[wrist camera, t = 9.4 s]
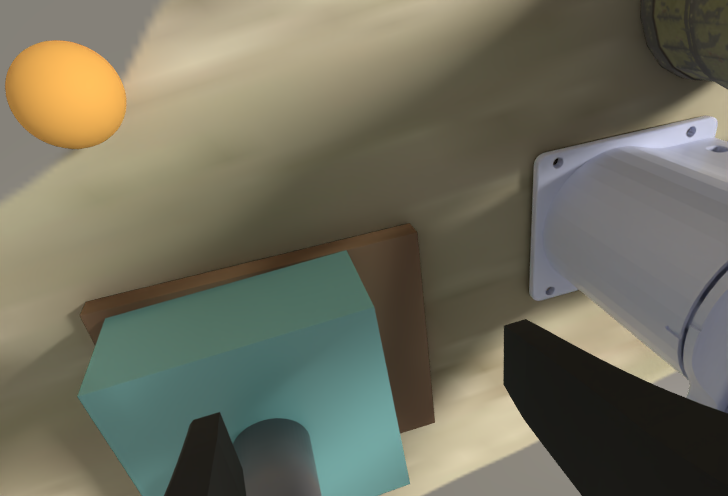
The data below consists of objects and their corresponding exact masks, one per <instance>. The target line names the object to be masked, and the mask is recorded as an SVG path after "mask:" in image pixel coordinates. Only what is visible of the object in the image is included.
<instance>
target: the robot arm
mask: <svg viewBox="0 0 728 496" xmlns="http://www.w3.org/2000/svg"><path fill="white" fill-rule="evenodd" d="M688 129H689V131H688V132H687V130H688ZM716 129H717V119H716V118H714V117H711V116H702V117H697V118H693V119H689V120H684V121H680V122H676V123H671V124H667V125H663V126H658V127H654V128H650V129H645V130H641V131H636V132H632V133H628V134H623V135H619V136H615V137H610V138H606V139H602V140H597V141H593V142H589V143H584V144H580V145H576V146H571V147H567V148H562V149H558V150H554V151H549V152H545V153H542V154H540V155H539V156H538V157H537V158H536V160H535V162H534V174H533V201H532V229H531V256H530V283H529V294H530V296H531V297H532V298H533V299H534V300H536V301H541V300H545V299H548V298H552V297H555V296H559V295H562V294H566V293H570V292H573V291H577V290H580V291H581V292H582V293H583V294H585V295H586V296H587V297H588V298H589V299H591V300H592V301H593V302H594V303H596V304H597V305H598V306H599V307H600V308H602V309H603V310H604V311H605V312H606V313H608V314H609V315H610V316H611V317H612V318H614V319H615V320H616V321H617V322H618V323H620V324H621V325H622V326H623V327H624V328H626V329H627V330H628V331H629V332H631V333H632V334H633V335H634V336H635V337H637V338H638V339H639V340H640V341H641V342H643V343H644V344H645V345H646V346H647V347H649V348H650V349H651V350H652V351H653V352H655V353H656V354H657V355H658V356H659V357H661V358H662V359H663V360H664V361H666V362H667V363H668V364H669V365H670V366H672V367H673V368H674V369H675V370H676V371H678V372H679V373H680V374H681V375H682V376H684V377H685V378H686V379H687V380H689V384H690V387H689V392H688V394H687V397H686V398H685V397H682V396H680V395H677V394H675V393H672V392H670V391H667V390H665V389H663V388H660V387H658V386H655V385H653V384H651V383H649V382H647V381H645V380H642V379H640V378H638V377H636V376H634V375H632V374H629V373H627V372H625V371H623V370H621V369H619V368H617V367H615V366H613V365H611V364H609V363H607V362H605V361H603V360H601V359H599V358H597V357H595V356H593V355H591V354H589V353H588V352H586V351H584V350H582V349H580V348H578V347H576V346H574V345H573V344H571V343H569V342H567V341H565V340H563V339H562V338H560V337H558V336H556V335H554V334H552V333H551V332H549V331H547V330H545V329H543V328H541V327H540V326H538V325H536V324H534V323H532V322H530V321H528V320H526V319H525V320H521V321H518V322H515V323H511V324H508V325H505V326H504V386H505V388H506V389H507V391H508V393H509V395H510V397H511V398H512V400H513V402H514V404H515V405H516V407H517V409H518V410H519V412H520V414H521V415H522V417H523V419H524V420H525V421H526V423H527V424H528V425H529V427H530V428H531V429H532V431H533V432H534V433H535V435H536V436H537V437H538V439H539V440H540V441H541V443H542V444H543V445H544V447H545V448H546V449H547V451H548V452H549V453H550V455H551V456H552V457H553V458H554V460H555V461H556V462H557V464H558V465H559V466H560V467H561V469H562V470H563V471H564V473H565V474H566V475H567V477H568V478H569V479H570V481H571V482H572V483H573V485H574V486H575V487H576V488H577V490H578V491H579V492H580V494H581V495H582V496H728V142H727V141H724V140H720V139H717V138H715V134H716ZM557 158H558V162H557V163H556V165H554V166H553V162H554V160H555V159H557ZM549 287H550V288H549ZM548 288H549V289H548ZM547 289H548V290H547ZM546 290H547V291H546ZM164 496H246V489H245V482H244V475H243V469H242V466H241V463H240V461H239V458H238V456H237V453H236V451H235V448H234V446H233V443H232V441H231V438H230V436H229V433H228V431H227V428H226V426H225V423H224V421H223V418H222V416H221V413H220V412H218V413H214V414H211V415H208V416H204V417H201V418H198V419H195V420H193V421H192V422H191V424H190V425H189V428H188V432H187V435H186V438H185V441H184V444H183V447H182V450H181V453H180V455H179V458H178V461H177V464H176V466H175V469H174V472H173V474H172V477H171V480H170V482H169V484H168V487H167V489H166V492H165V494H164Z"/></svg>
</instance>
